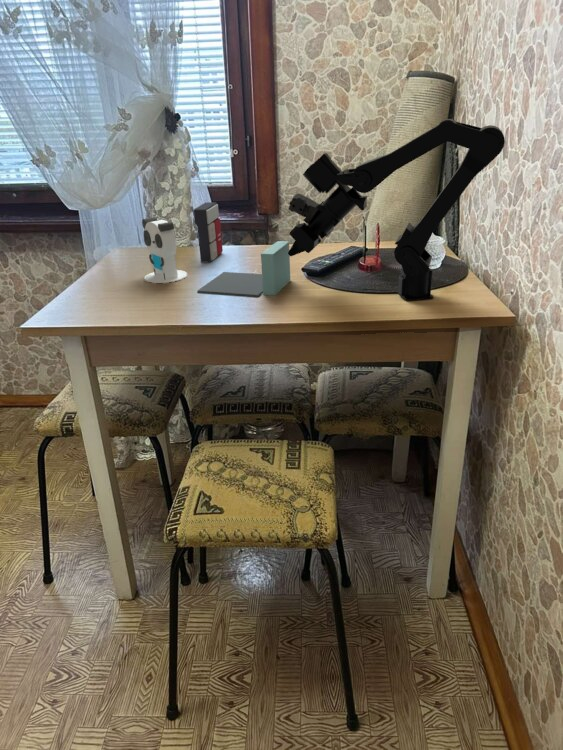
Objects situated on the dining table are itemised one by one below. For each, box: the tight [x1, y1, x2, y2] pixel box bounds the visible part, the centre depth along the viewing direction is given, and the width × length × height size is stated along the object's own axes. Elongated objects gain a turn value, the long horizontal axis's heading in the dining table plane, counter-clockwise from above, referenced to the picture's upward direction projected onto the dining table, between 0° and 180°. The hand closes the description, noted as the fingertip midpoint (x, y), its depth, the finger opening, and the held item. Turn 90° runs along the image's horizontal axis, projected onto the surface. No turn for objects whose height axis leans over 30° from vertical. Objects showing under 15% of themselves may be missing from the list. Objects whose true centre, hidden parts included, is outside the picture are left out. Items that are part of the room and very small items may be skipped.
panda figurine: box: [141, 216, 188, 284], centre depth 149 cm, size 12×11×15 cm
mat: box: [197, 271, 263, 298], centre depth 144 cm, size 16×16×1 cm
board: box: [260, 240, 291, 296], centre depth 139 cm, size 3×12×10 cm, turn 161°
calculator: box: [193, 201, 223, 263], centre depth 165 cm, size 11×4×15 cm, turn 168°
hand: (289, 254), depth 136 cm, fingers closed
